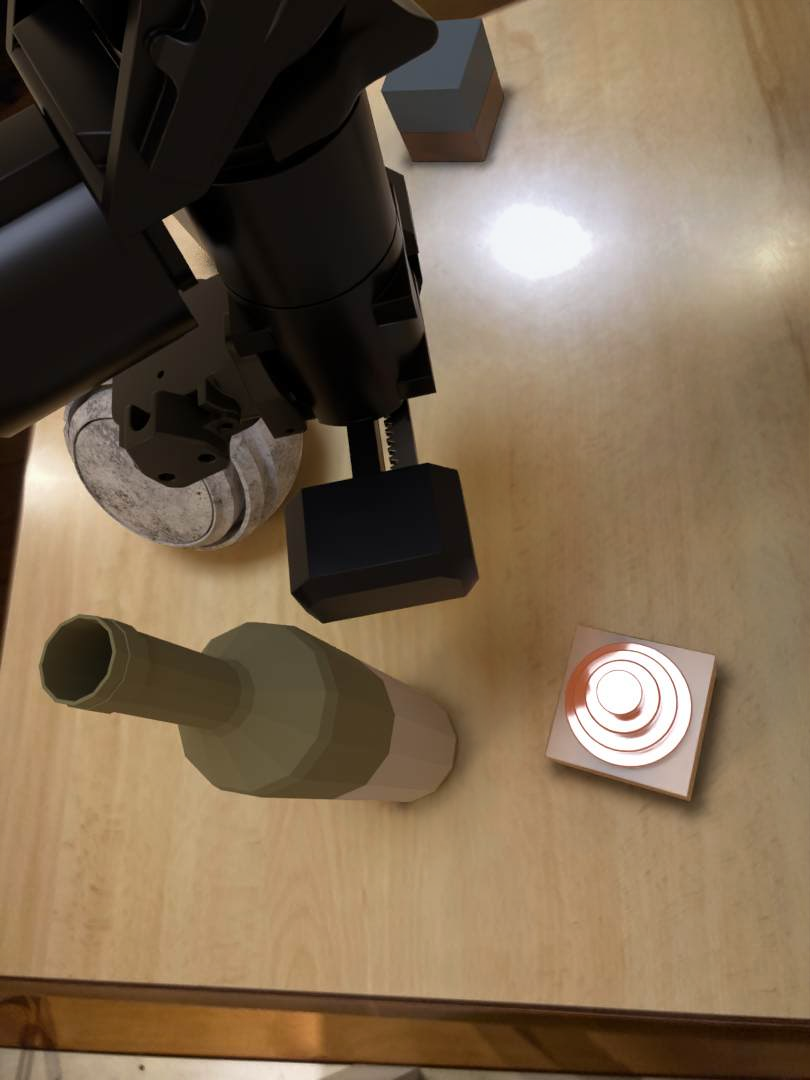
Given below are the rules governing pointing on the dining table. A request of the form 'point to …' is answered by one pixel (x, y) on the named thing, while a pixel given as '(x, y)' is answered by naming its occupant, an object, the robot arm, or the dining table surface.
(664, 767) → the stand
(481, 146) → the base block
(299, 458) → the decorative orb
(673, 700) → the cone
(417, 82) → the top block
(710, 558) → the dining table surface
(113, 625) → the bottle
